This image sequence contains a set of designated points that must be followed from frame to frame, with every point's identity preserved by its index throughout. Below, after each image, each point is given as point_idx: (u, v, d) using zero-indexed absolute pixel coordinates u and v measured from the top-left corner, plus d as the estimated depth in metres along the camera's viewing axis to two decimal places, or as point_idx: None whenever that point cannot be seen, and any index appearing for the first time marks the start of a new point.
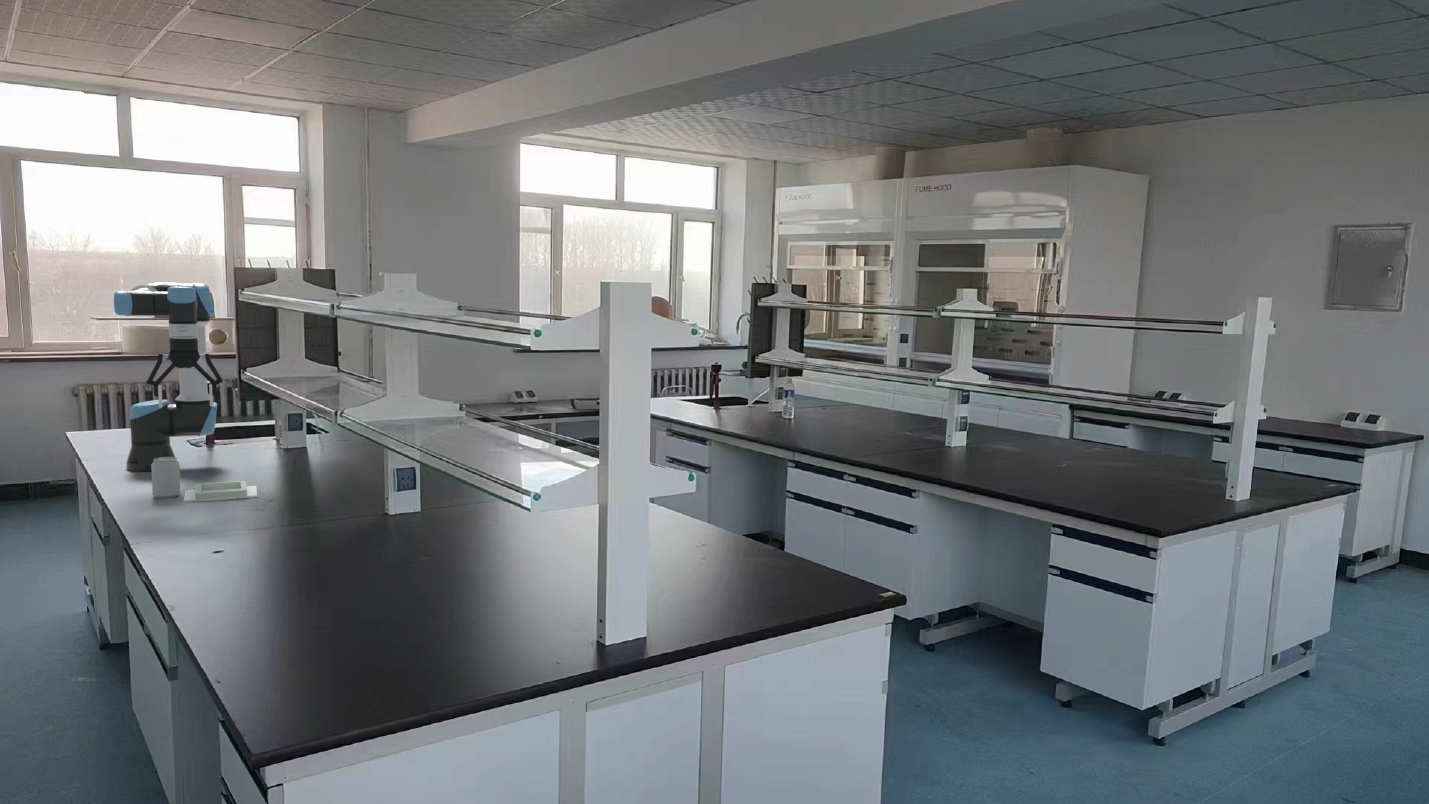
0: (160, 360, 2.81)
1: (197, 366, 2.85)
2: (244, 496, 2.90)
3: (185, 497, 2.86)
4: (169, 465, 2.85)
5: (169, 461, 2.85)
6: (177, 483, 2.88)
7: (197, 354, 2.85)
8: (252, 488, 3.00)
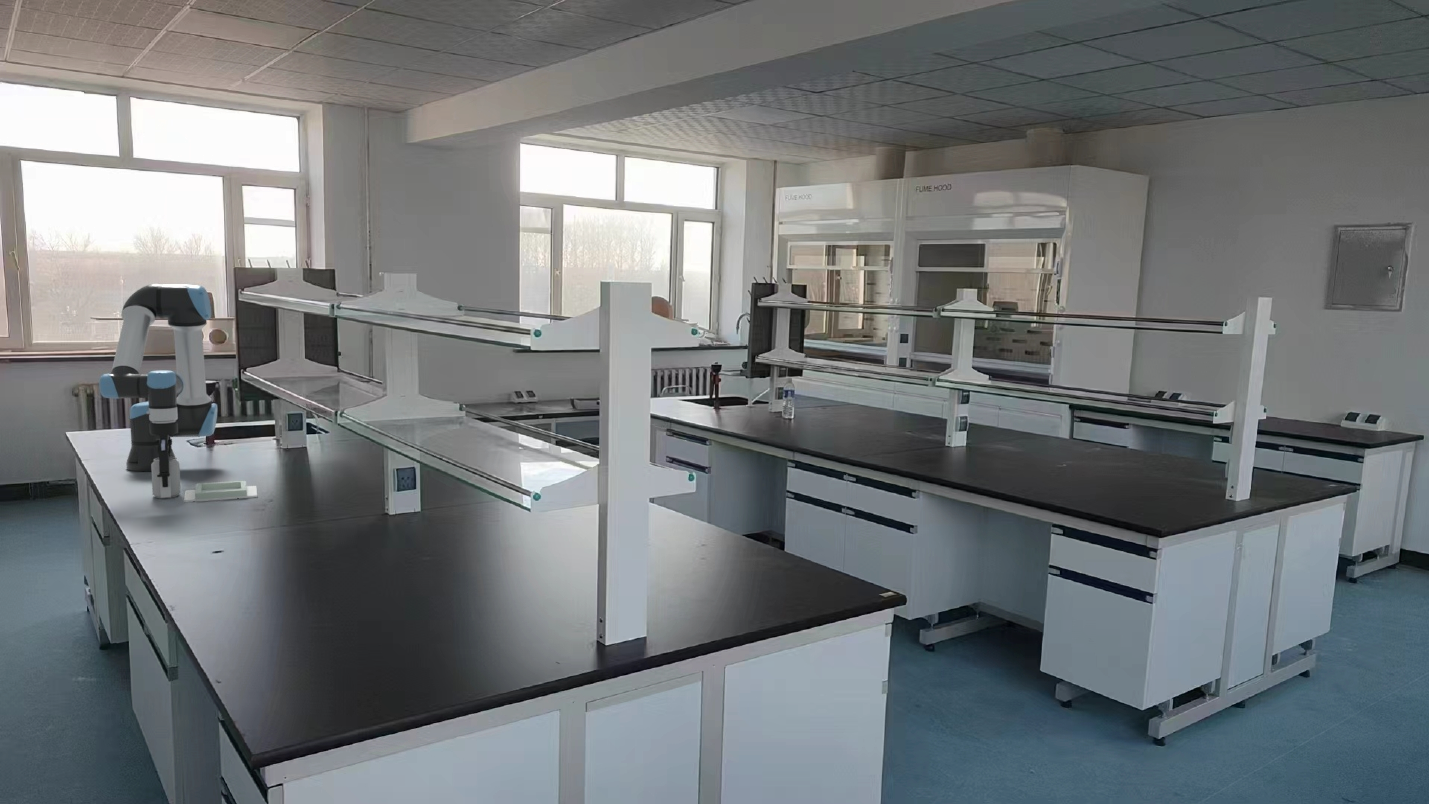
0: None
1: (157, 452, 2.84)
2: (244, 496, 2.90)
3: (185, 497, 2.86)
4: (169, 465, 2.85)
5: (169, 461, 2.85)
6: (177, 483, 2.88)
7: (159, 440, 2.83)
8: (252, 488, 3.00)
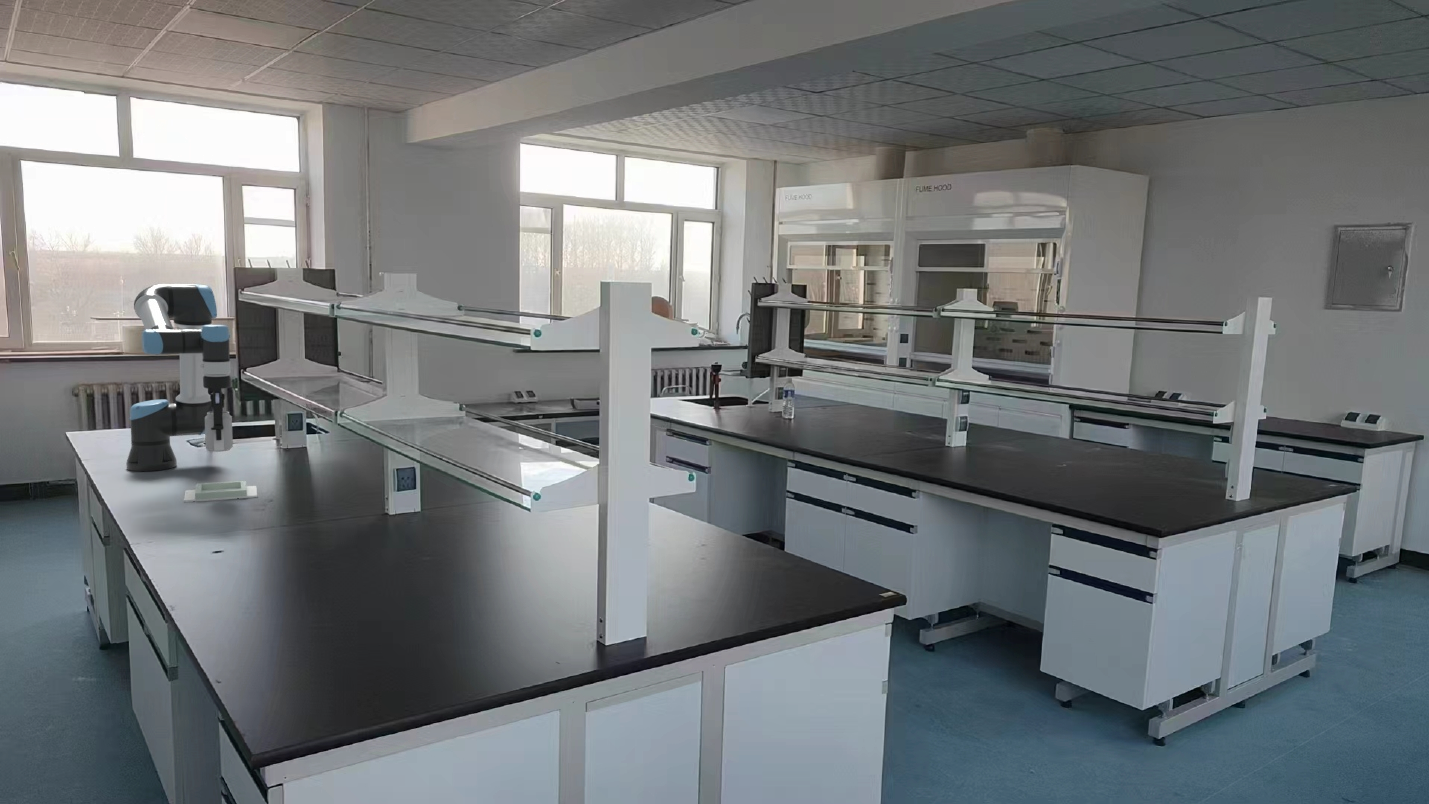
0: None
1: (211, 406, 2.86)
2: (244, 496, 2.90)
3: (185, 497, 2.86)
4: None
5: None
6: (229, 436, 2.90)
7: (213, 393, 2.85)
8: (252, 488, 3.00)
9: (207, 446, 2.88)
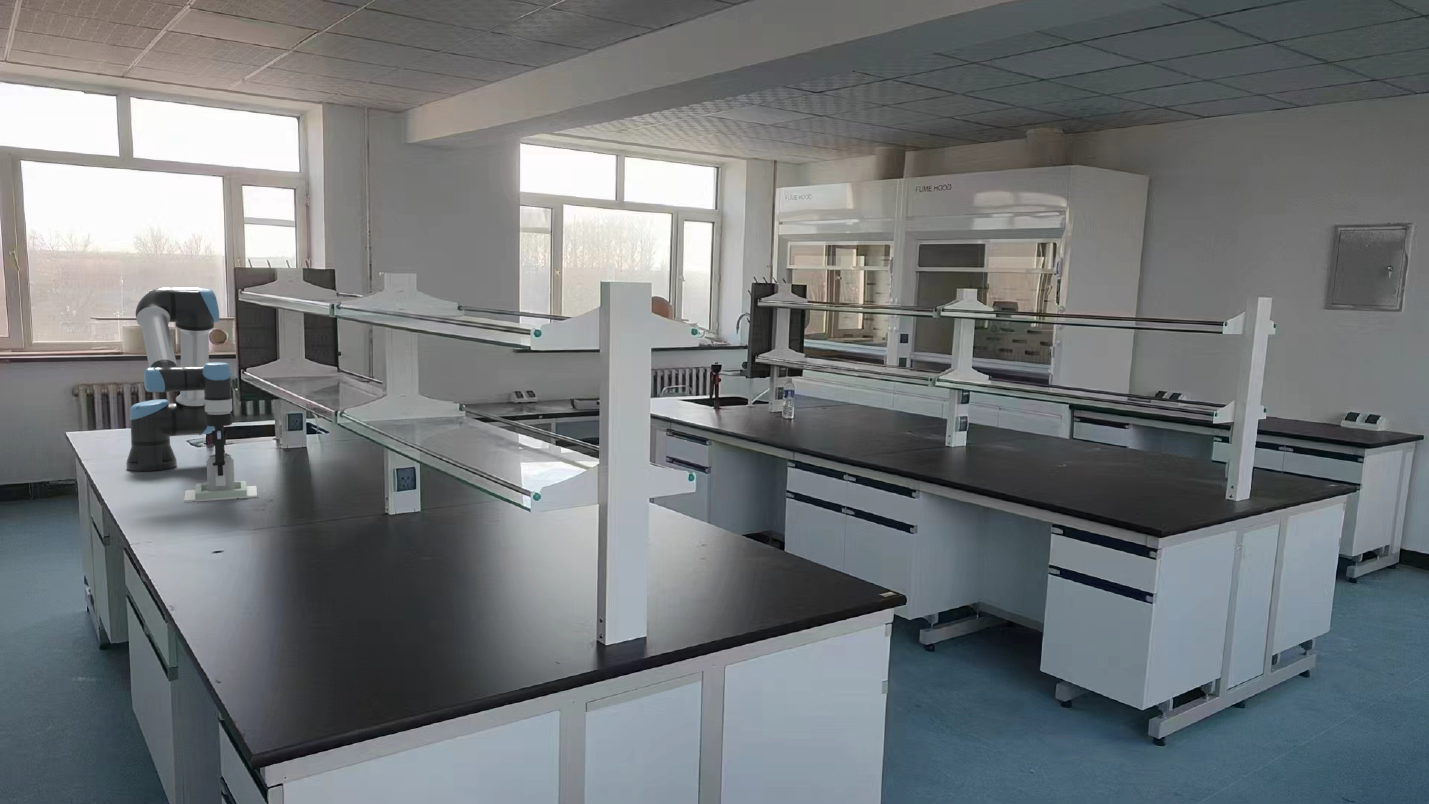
0: None
1: (213, 443, 2.87)
2: (244, 496, 2.90)
3: (185, 497, 2.86)
4: None
5: (224, 458, 2.90)
6: (231, 479, 2.92)
7: (215, 431, 2.87)
8: (252, 488, 3.00)
9: (209, 489, 2.90)
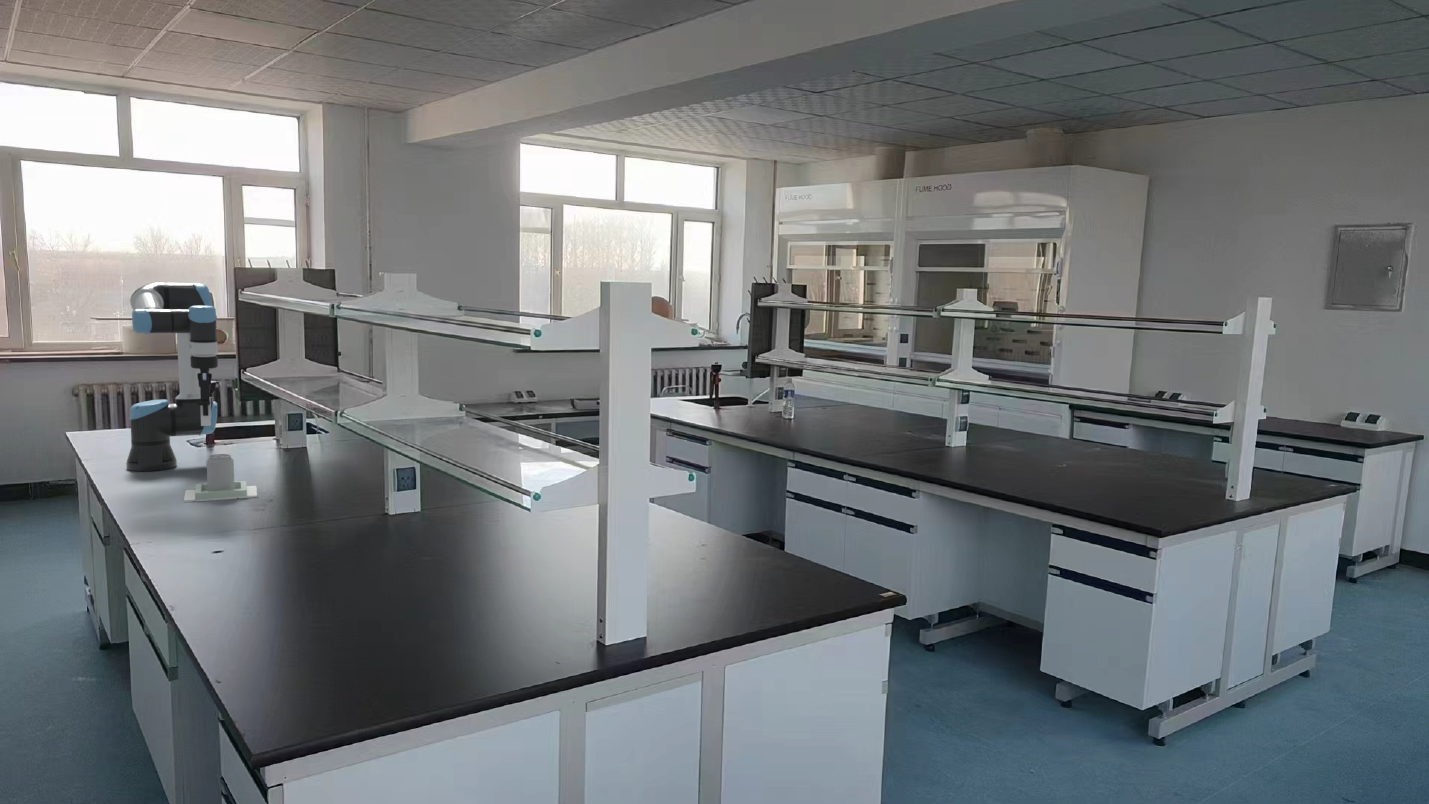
0: None
1: (198, 384, 2.91)
2: (244, 496, 2.90)
3: (185, 497, 2.86)
4: (224, 462, 2.89)
5: (224, 458, 2.90)
6: (231, 479, 2.92)
7: (200, 372, 2.90)
8: (252, 488, 3.00)
9: (209, 489, 2.90)
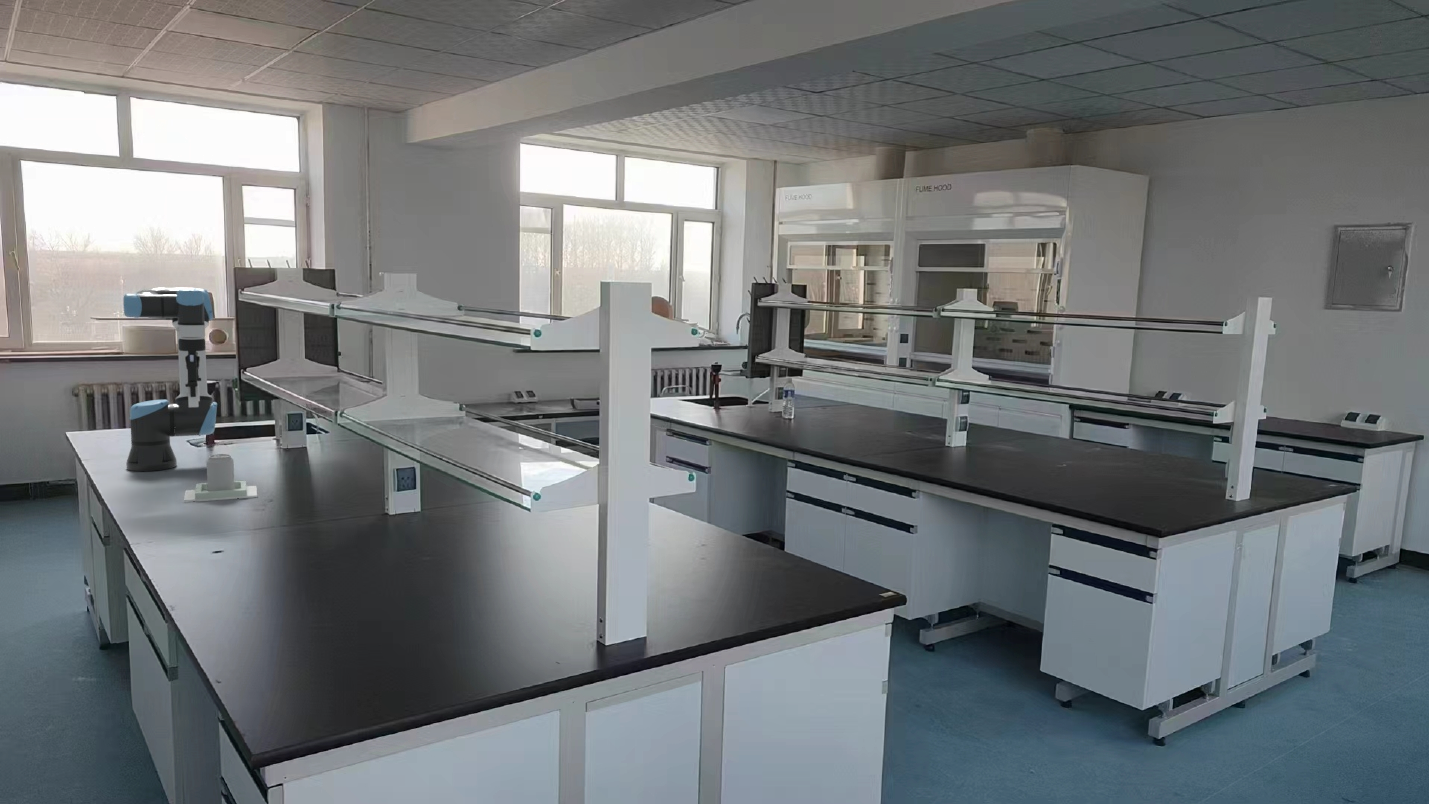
0: None
1: (186, 366, 2.95)
2: (244, 496, 2.90)
3: (185, 497, 2.86)
4: (224, 462, 2.89)
5: (224, 458, 2.90)
6: (231, 479, 2.92)
7: (188, 355, 2.95)
8: (252, 488, 3.00)
9: (209, 489, 2.90)
